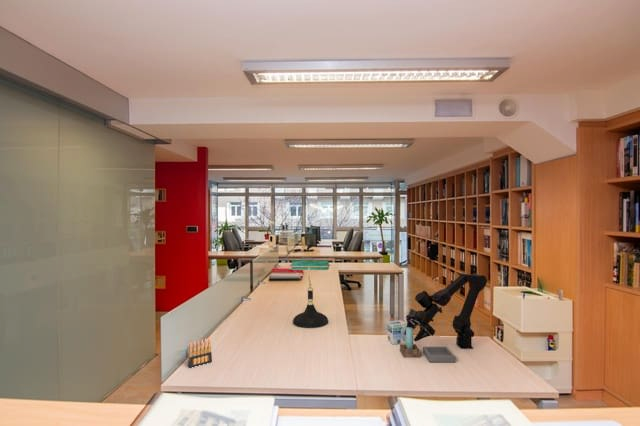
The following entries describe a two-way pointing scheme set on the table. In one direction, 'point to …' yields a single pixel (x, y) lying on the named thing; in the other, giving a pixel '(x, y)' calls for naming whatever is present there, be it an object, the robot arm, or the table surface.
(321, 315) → the banker's lamp
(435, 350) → the tray
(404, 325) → the light bulb box
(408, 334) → the dowel
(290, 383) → the table surface
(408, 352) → the socket block
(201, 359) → the ammunition clip
